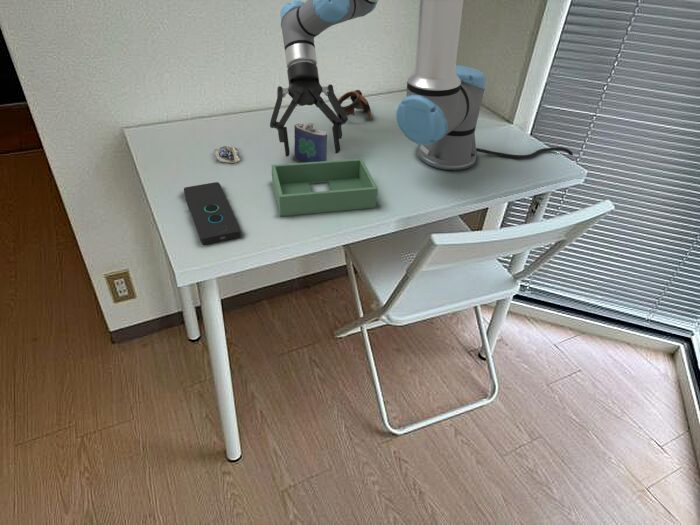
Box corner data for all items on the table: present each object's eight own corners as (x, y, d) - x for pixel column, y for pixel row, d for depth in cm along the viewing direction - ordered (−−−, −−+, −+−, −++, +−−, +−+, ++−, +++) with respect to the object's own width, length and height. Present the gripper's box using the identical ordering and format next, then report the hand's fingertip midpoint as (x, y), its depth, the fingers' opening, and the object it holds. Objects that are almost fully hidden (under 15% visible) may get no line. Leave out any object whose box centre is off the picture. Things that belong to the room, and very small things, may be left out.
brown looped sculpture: (373, 125, 148) (361, 103, 143) (343, 135, 152) (331, 114, 146) (375, 99, 155) (364, 77, 150) (347, 109, 159) (335, 88, 153)
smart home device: (200, 238, 100) (182, 187, 114) (201, 245, 101) (183, 193, 115) (241, 230, 103) (219, 181, 117) (242, 237, 104) (220, 187, 118)
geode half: (231, 146, 133) (231, 139, 132) (248, 158, 129) (248, 151, 128) (208, 153, 130) (207, 146, 129) (225, 166, 125) (224, 159, 124)
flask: (328, 165, 129) (329, 125, 122) (322, 170, 127) (322, 129, 120) (297, 154, 132) (297, 115, 125) (291, 159, 130) (290, 119, 123)
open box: (360, 176, 125) (362, 158, 122) (376, 207, 115) (378, 188, 112) (272, 183, 121) (271, 164, 117) (280, 216, 111) (279, 196, 107)
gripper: (346, 72, 132) (357, 154, 131) (252, 76, 127) (262, 161, 126) (352, 58, 125) (364, 145, 124) (253, 61, 120) (264, 151, 119)
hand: (313, 153), depth 125 cm, fingers open, 12 cm apart
